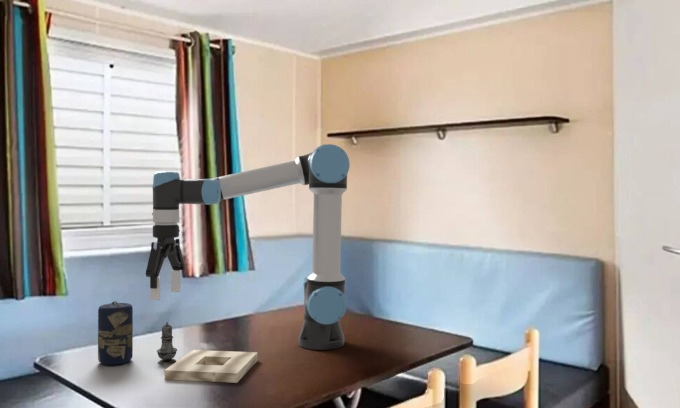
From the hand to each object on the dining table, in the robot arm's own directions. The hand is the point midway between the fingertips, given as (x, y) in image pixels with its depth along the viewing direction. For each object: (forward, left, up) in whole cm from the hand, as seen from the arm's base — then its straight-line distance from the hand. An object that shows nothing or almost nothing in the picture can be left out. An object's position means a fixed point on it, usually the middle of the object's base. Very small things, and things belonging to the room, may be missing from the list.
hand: (165, 295), depth 169 cm
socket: (-17, +6, -19) cm, 27 cm away
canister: (+14, +3, -20) cm, 24 cm away
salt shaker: (-1, +1, -20) cm, 20 cm away
